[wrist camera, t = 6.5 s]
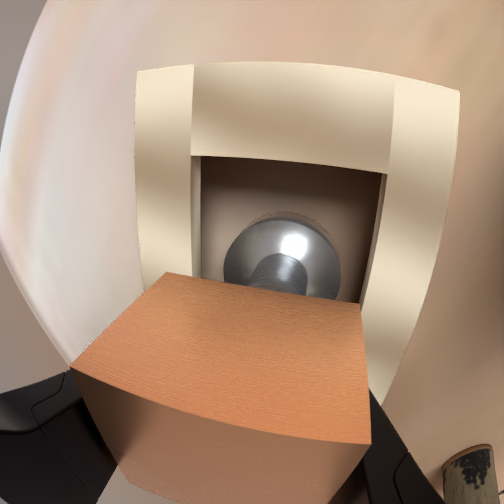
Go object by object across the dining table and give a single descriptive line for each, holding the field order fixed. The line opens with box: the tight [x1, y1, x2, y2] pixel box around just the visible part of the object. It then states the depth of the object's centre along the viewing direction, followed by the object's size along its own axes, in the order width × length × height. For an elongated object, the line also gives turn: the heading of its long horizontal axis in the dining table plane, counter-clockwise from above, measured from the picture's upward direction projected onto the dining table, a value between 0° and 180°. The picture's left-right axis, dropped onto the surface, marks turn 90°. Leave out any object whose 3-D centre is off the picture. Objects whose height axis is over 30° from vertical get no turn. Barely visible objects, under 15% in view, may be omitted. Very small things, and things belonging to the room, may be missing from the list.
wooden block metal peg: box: [70, 212, 371, 504], centre depth 10 cm, size 5×5×11 cm
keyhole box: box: [135, 62, 460, 406], centre depth 14 cm, size 20×12×4 cm, turn 177°
